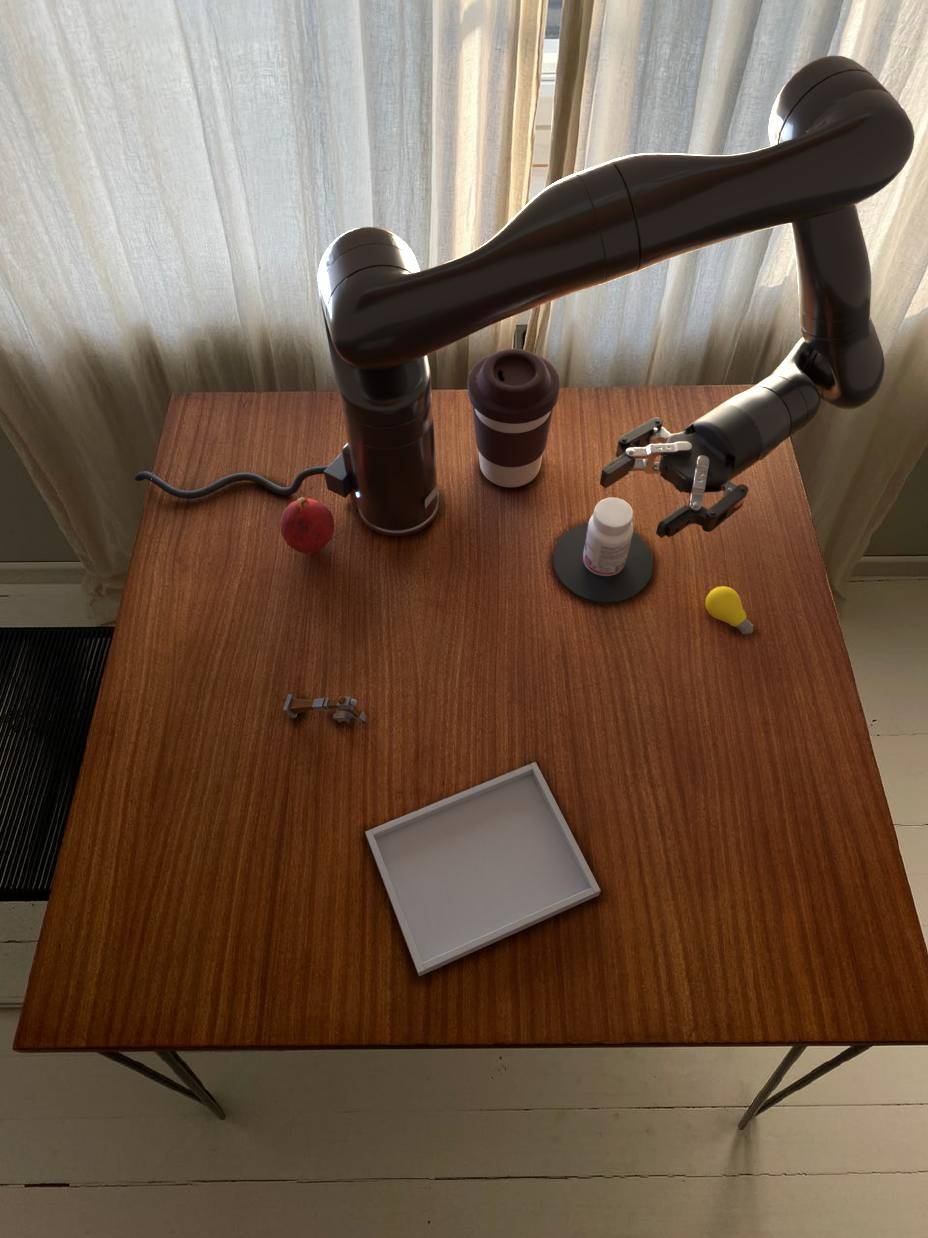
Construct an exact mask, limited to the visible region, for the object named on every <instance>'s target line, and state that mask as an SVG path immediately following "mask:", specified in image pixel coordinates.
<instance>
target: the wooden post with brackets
mask: <svg viewBox="0 0 928 1238" xmlns="http://www.w3.org/2000/svg"><path fill="white" fill-rule="evenodd" d="M357 704H358V701H357V699H355V698H353V697H352V696H350V695H349V696H339V697H338V698H330V697H320V698H316V697H315V698H314V699H302V698H296V697H295V696H294V695H293V694H289V693H288V694H287V697H286V700H285V703H284V704H283V705H284V706H283V708H282V711H284V712H285V713H286V714H287V715H288V716H290V717H291V718H292V719H294V718H295V719H296V718H297V716H298V714H299V713H300V714H301V713H304V712H309V711H317V712H321V711H324V712H327V711H328V712H330V711H331V712H332V710H335V709H336V711H335V713H332V714H333V715H332V719H334V720H336V721H337V722H338V723H342V722H346V723H347V724H349V723H350V720H353V719H356V721H359V722H360V723H361V724H367V723H368V720H369V716H367V715H366V713H365V712H364V711H362V710H360V709H359V708H358V707H356V706H357ZM338 709H339V710H338Z"/></svg>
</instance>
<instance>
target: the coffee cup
mask: <svg viewBox="0 0 928 1238" xmlns="http://www.w3.org/2000/svg"><path fill="white" fill-rule="evenodd" d="M560 389H561V379H560V374H559V373H558V371H557V369H556V367H555V366H554V365H553V364H552V363H551V361H549V360H547V359H545V357H542V356H541V355H538V354H536V353H533V352H532V351H529V350H525V349H523V348H522V349H521V348H507V349H502V350H499V351H496V352H494V353H491V354H488V355H486V356H485V357H483V358H482V359H480V360H478V361H477V362H476V363H475V364H474V366H473V367H472V368H471V370H470V372H469V374H468V376H467V395H468V399H469V401H470V403H471V405H472V415H473V416H472V417H473V425H474V427H473V428H474V435H475V436H474V437H475V445H476V448H477V451H478V459H479V468H480V470H481V472H482V474H483V476H484V477H485V478H486V479H487V480H489V482H491V483H493V484H494V485H496V486H500V487H503V488H519V487H521V486H525V485H527V484H529V483H530V482H532V481H533V480H534V479H535V478H536V477H537V475H538V474H539V473H540V470H541V466H542V461H543V455H544V453H545V450H546V448H547V444H548V437H549V433H550V429H551V428H550V427H551V422H552V419H553V412H554V408H555V406H556V405H557V403H558V400H559V397H560V392H561V391H560Z"/></svg>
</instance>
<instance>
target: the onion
mask: <svg viewBox="0 0 928 1238" xmlns="http://www.w3.org/2000/svg"><path fill="white" fill-rule="evenodd" d="M334 533H335V521H334V516H333V514H332V512H331V511H330V509H329V508H328V506H326V505H325V504H324V503H322V502H320V501H318V500H317V499H313V498H307V497H304V496H301V497H300V498H299V497H298V498H297V500H294V501H291V502H290V503H289V504H288V505H287V506H286V507H285V508H284V510H283V512H282V515H281V517H280V534H281V536H282V537H283V540H284V541H285V543H286V545H287V546H289V547H290V548H291V549H293V550H294V551H295V552H298V553H301V554H306V555H307V554H308V555H309V554H313V553H317V552H319V551H321V550H322V549H324V548H325V547H326V546H327V545H328V544H329V542H331V540H332V538H333V536H334Z"/></svg>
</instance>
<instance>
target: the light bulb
mask: <svg viewBox="0 0 928 1238" xmlns="http://www.w3.org/2000/svg"><path fill="white" fill-rule="evenodd" d="M705 608H706V611H707V612H708V614H709V615H710V616H711V617H713V619H716V620H719V621H721V622H724V623H727V624H729V626H731V627H735V628H736V629H738V631H739V632H740V633H742V635H751V634H752V633H753V632H754V624H753V623H752V622H751V621H750V620H749V619H748V617H747V613H746V611H745V610H744V608H743V604H742V600H741V598H740V595H739V593H738V592H737V591H736V590H735V589H733V588H732V587H729V586H726V585H725V586H722V585H721V586H717V587H715V588H713V589H711V590H710V591H709V592H708V594H707V596H706V598H705Z"/></svg>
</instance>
